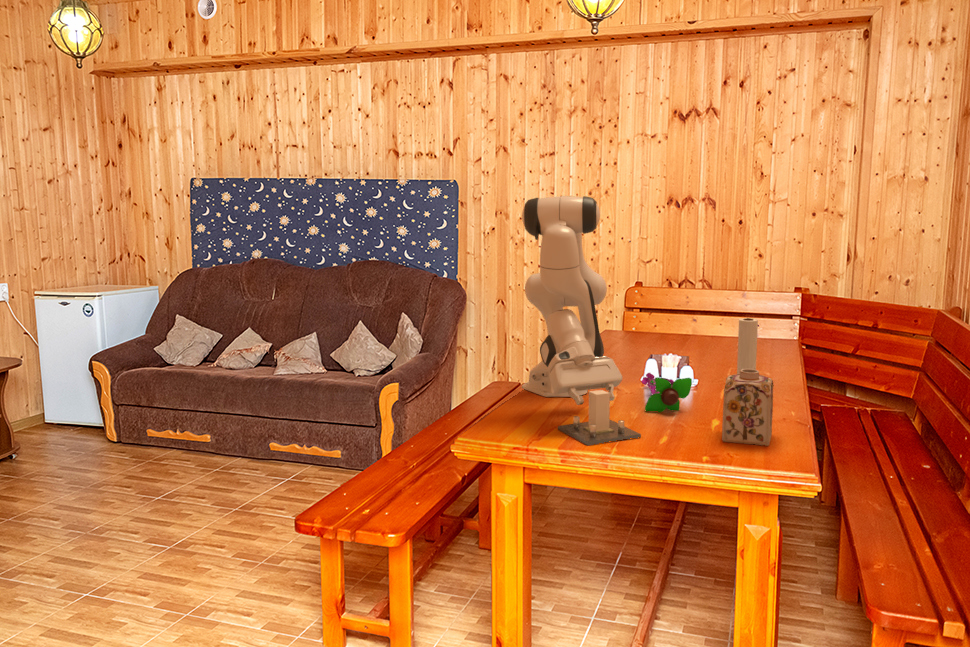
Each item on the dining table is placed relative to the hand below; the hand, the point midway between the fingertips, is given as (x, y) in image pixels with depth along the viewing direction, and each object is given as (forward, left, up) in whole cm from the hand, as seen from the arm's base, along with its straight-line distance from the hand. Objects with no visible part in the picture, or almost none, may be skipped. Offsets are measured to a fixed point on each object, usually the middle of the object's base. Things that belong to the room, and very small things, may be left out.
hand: (596, 401), depth 216 cm
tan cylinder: (-5, +82, -9) cm, 82 cm away
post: (+1, 0, -7) cm, 7 cm away
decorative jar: (+30, +25, -9) cm, 40 cm away
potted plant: (-10, +39, -9) cm, 42 cm away
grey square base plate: (+1, 0, -8) cm, 9 cm away
